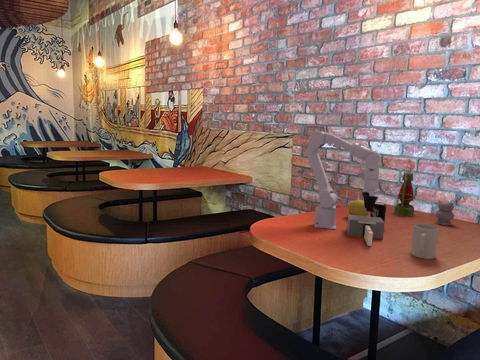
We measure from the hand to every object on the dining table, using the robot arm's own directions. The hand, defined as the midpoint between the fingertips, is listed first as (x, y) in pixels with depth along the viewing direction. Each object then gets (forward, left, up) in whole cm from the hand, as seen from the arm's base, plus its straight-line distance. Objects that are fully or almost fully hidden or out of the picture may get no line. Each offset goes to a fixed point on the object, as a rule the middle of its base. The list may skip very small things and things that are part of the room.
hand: (368, 209), depth 173 cm
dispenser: (-1, -3, -10) cm, 11 cm away
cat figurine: (+42, +35, -11) cm, 56 cm away
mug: (+17, -27, -11) cm, 34 cm away
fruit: (-1, +28, -11) cm, 30 cm away
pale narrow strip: (-1, -16, -10) cm, 19 cm away
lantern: (+26, +51, -11) cm, 58 cm away
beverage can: (+6, +11, -11) cm, 16 cm away
